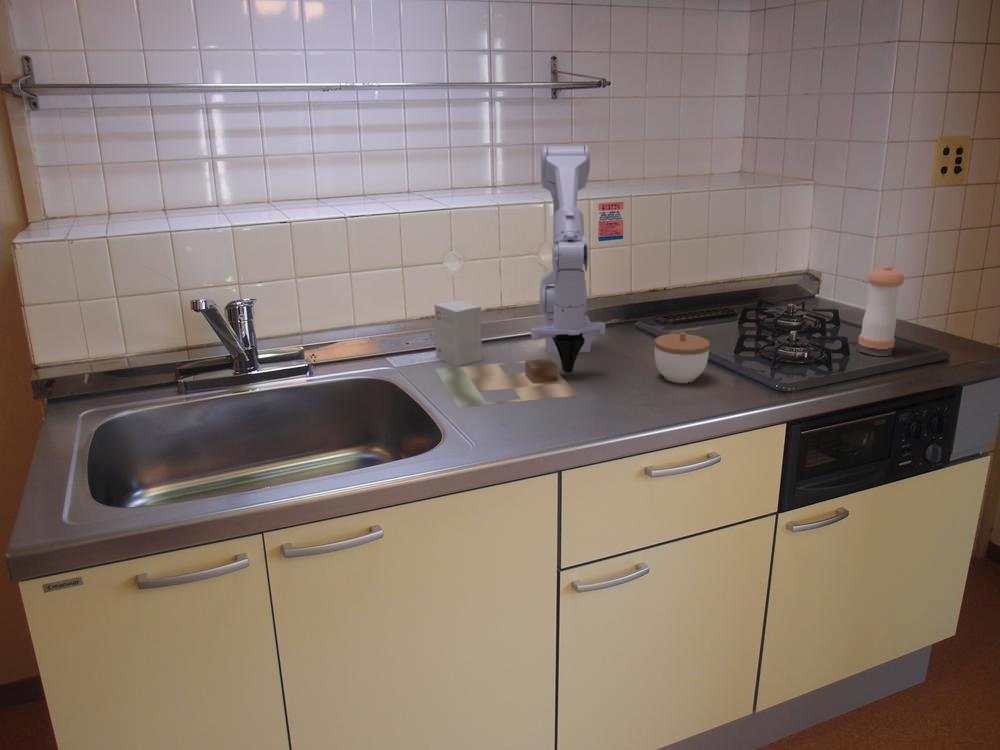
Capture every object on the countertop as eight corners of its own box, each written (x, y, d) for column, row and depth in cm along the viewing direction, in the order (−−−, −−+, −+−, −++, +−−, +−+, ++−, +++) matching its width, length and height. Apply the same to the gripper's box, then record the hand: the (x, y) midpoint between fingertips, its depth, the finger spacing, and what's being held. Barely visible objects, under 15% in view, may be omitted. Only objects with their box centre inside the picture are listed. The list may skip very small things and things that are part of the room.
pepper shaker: (898, 357, 176) (913, 269, 169) (864, 357, 176) (878, 269, 169) (884, 347, 183) (897, 262, 176) (851, 347, 183) (863, 262, 176)
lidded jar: (717, 377, 164) (721, 332, 161) (689, 391, 156) (692, 344, 153) (670, 366, 171) (673, 322, 168) (642, 378, 163) (644, 333, 160)
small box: (482, 366, 171) (481, 306, 167) (458, 373, 167) (456, 311, 163) (459, 357, 177) (458, 299, 172) (435, 363, 173) (433, 303, 169)
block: (549, 372, 162) (549, 358, 161) (557, 380, 158) (557, 366, 157) (525, 375, 161) (525, 360, 160) (532, 383, 157) (532, 368, 156)
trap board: (543, 366, 171) (543, 359, 170) (579, 402, 151) (580, 395, 150) (435, 376, 165) (434, 369, 165) (458, 415, 145) (458, 407, 145)
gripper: (539, 311, 151) (538, 381, 155) (612, 306, 154) (609, 374, 159) (527, 302, 157) (527, 369, 161) (598, 297, 161) (596, 363, 165)
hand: (567, 371), depth 160 cm, fingers closed
